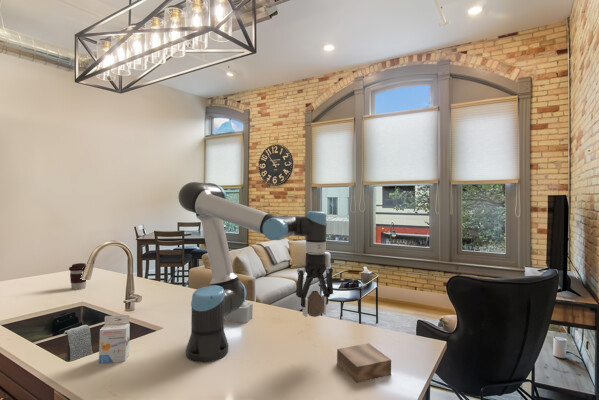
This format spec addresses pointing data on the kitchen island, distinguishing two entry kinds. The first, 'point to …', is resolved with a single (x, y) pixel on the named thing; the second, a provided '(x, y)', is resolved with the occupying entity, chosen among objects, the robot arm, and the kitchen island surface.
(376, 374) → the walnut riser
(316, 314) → the vase
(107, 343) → the ink box
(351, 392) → the kitchen island surface
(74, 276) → the coffee cup
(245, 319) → the grey angular block
